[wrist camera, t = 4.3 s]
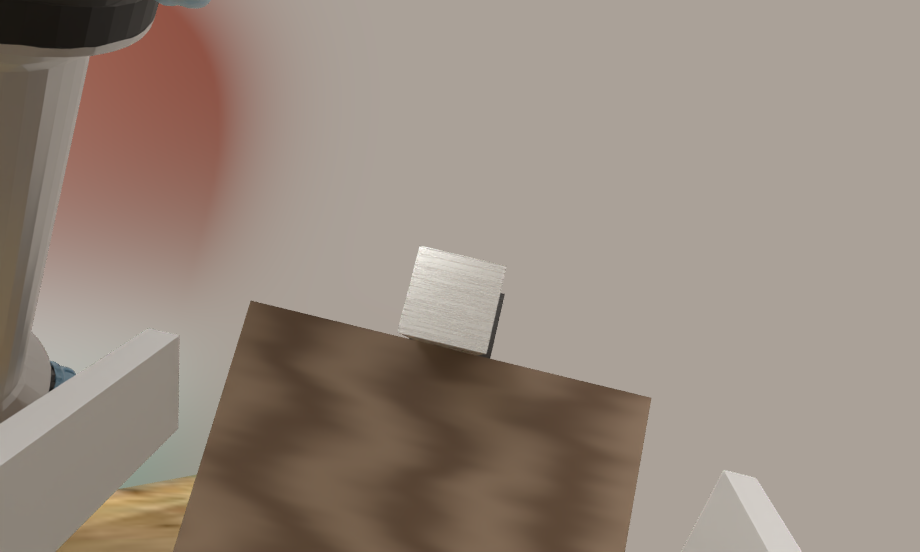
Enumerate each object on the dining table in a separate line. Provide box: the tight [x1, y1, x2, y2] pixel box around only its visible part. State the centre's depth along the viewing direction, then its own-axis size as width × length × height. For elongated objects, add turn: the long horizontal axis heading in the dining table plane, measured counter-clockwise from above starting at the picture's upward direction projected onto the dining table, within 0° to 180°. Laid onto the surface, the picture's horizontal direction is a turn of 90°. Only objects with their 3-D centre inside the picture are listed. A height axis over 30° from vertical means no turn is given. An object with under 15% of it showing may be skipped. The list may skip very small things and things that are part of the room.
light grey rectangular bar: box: [398, 246, 506, 359], centre depth 30 cm, size 6×26×5 cm, turn 0°
